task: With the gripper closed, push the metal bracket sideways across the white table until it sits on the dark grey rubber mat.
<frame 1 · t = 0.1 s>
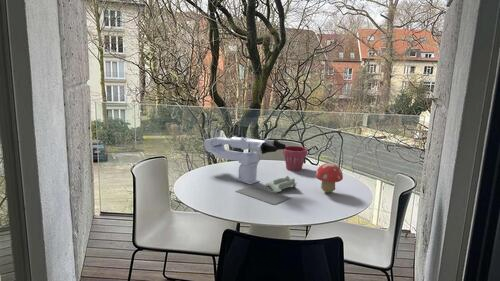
hand: (280, 148, 183), 22 cm above the table, tool horizontal, fingers open, 7 cm apart
plant pot: (293, 169, 226), on the table
decorative mushroom: (327, 193, 187), on the table
rubber mat: (262, 194, 180), on the table
metal bracket: (282, 188, 190), on the table, touching rubber mat
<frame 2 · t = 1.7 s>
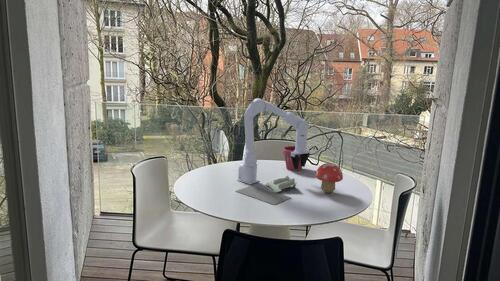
hand: (299, 167, 199), 8 cm above the table, tool pointing down, fingers open, 6 cm apart
nothing on the table moved.
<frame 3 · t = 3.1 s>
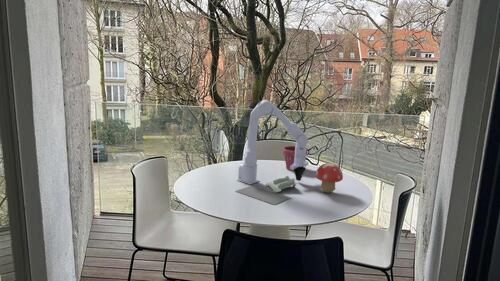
hand: (298, 180, 200), 1 cm above the table, tool pointing down, fingers closed
nothing on the table moved.
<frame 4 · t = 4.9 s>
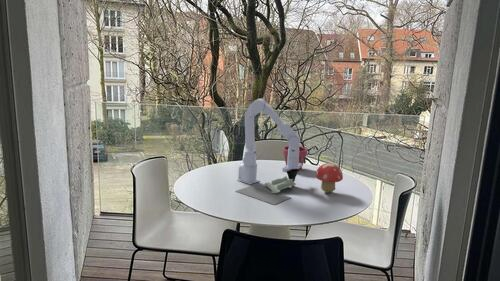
hand: (291, 182, 196), 1 cm above the table, tool pointing down, fingers closed
metal bracket: (280, 189, 189), on the table, touching gripper
everything else where it was.
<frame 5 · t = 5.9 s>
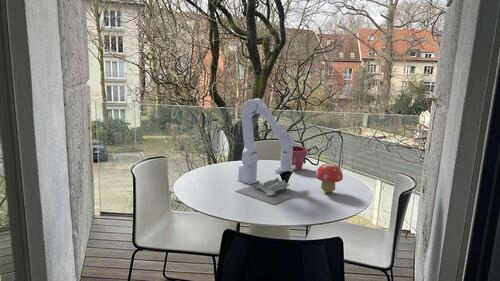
hand: (284, 185, 191), 1 cm above the table, tool pointing down, fingers closed
metal bracket: (273, 190, 186), on the table, touching gripper, rubber mat
everything else where it was.
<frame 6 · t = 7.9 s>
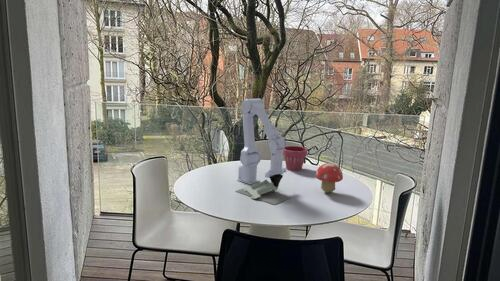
hand: (275, 188, 185), 1 cm above the table, tool pointing down, fingers closed
metal bracket: (261, 193, 182), resting on rubber mat, touching gripper
everything else where it was.
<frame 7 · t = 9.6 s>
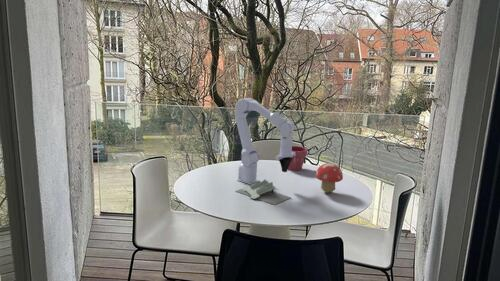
hand: (284, 171, 189), 9 cm above the table, tool pointing down, fingers closed
metal bracket: (260, 193, 182), resting on rubber mat
everything else where it was.
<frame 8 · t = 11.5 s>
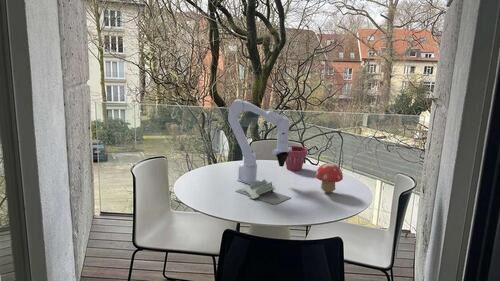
hand: (281, 166, 197), 9 cm above the table, tool pointing down, fingers closed
nothing on the table moved.
at the end: metal bracket inside the target area (3.2 cm from its centre), resting on rubber mat; metal bracket moved 14.5 cm from its start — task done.
